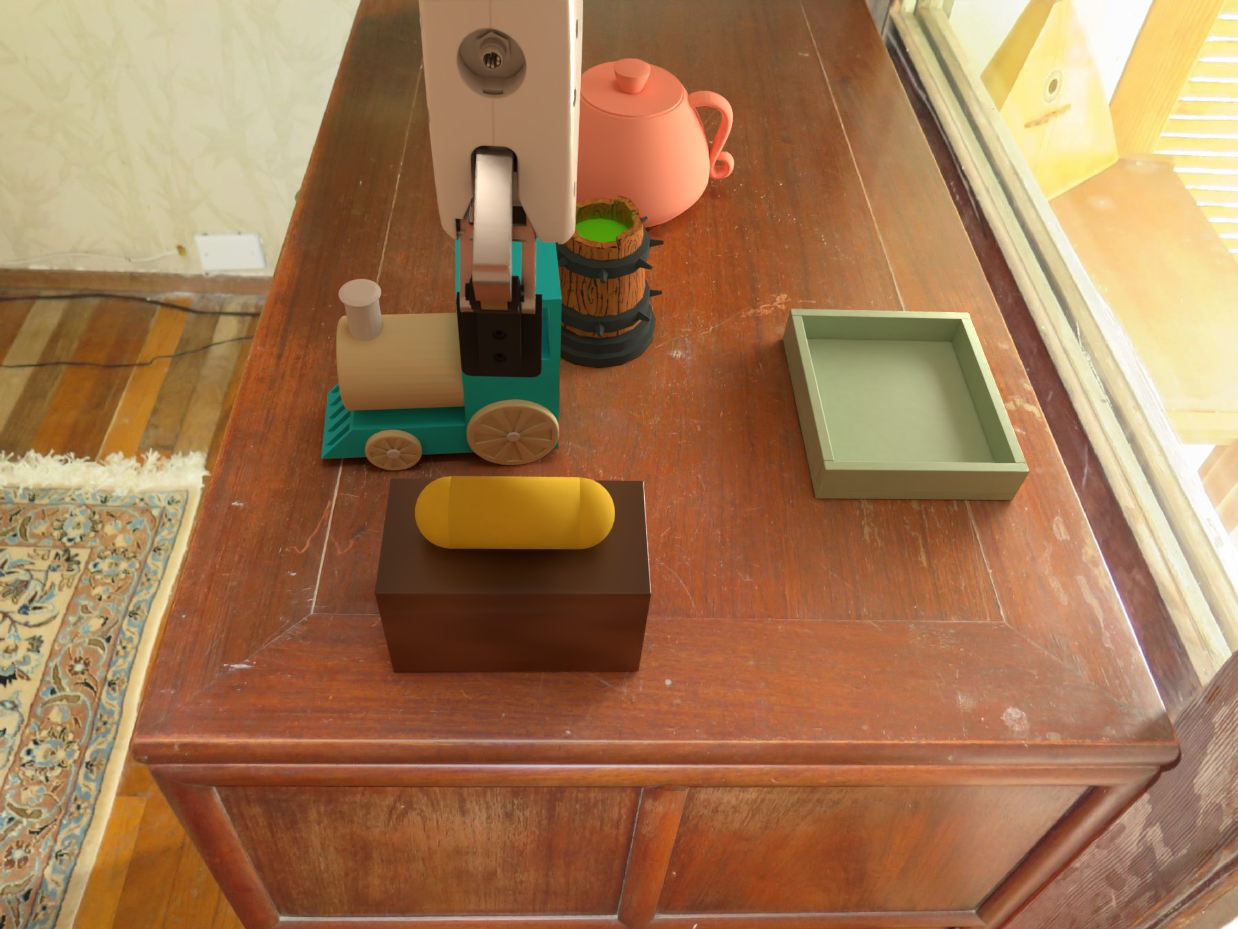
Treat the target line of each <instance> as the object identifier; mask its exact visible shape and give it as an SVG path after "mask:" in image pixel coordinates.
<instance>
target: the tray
mask: <svg viewBox="0 0 1238 929" xmlns="http://www.w3.org/2000/svg"><path fill="white" fill-rule="evenodd" d="M782 342H783V347H784V352H785V356H786V357H785V358H786V361H787V366H788V371H789V377H790V381H791V386H792V392H793V395H794V401H795V406H796V411H797V415H798V420H799V426H800V429H801V435H802V440H803V444H804V449H805V454H806V459H807V463H808V468H809V472H810V473H809V474H810V478H811V483H812V487H813V493H814V498H815V499H834V500H835V499H836V500H837V499H840V500H841V499H842V500H843V499H844V500H845V499H847V500H848V499H849V500H850V499H851V500H856V499H857V500H946V501H947V500H953V501H954V500H956V501H957V500H958V501H959V500H962V501H963V500H965V501H966V500H967V501H970V500H971V501H1014V499H1015V497H1016V495H1017V493H1018V492H1019V490H1020V489H1021V487H1022V486H1023V484H1024V482H1025V480H1026V479H1027V478H1028V476H1029V474H1030V468H1029V467H1028V464H1027V461H1026V458H1025V456H1024V453H1023V451H1022V448H1021V445H1020V443H1019V440H1018V438H1017V436H1016V433H1015V432H1016V431H1015V430H1014V426H1013V425H1012V422H1011V419H1010V417H1009V414H1008V411H1007V409H1006V407H1005V404H1004V402H1003V399H1002V396H1001V394H1000V391H999V389H998V386H997V384H996V381H995V378H994V376H993V372H992V371H991V367H990V365H989V363H988V361H987V357H986V355H985V353H984V349H983V347H982V345H981V342H980V340H979V337H978V335H977V332H976V330H975V326H974V325H973V322H972V319H971V316H970V313H969V312H955V311H919V310H917V311H910V310H909V311H908V310H875V309H874V310H870V309H869V310H867V309H829V308H828V309H826V308H823V309H822V308H789V312H788V316H787V321H786V324H785V328H784V332H783V335H782Z"/></svg>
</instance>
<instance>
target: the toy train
mask: <svg viewBox="0 0 1238 929" xmlns="http://www.w3.org/2000/svg"><path fill="white" fill-rule="evenodd" d="M454 248H455V249H454V251H455V252H454V253H455V254H454V255H455V258H454V260H455V263H454V264H455V267H454V268H455V297H456V296H457V292H460V236H459V239H458V240H455V239H454ZM521 265H522V242H512V276H519V278H520V281H521ZM536 294H542V370H541V374H540V375H539V376H537V377H532V378H528V377H487V376H468V375H466V374H464V373H463V372H462V369H461V357H460V345H459V332H458V319H457V312H436V313H435V312H431V313H430V312H429V313H395V314H394V313H392V314H391V313H390V314H382V311H381V307H380V297H381V295H382V288H381V287H380V285H379V284H378V283H376V282H375V281H374V280H371V279H366V278H357V279H353V280H349V281H347V282H346V283H343V285H342V286H340V289H339V290H338V298H339V300H340V302H341V303H342V304H343V306H344V310H345V314H346V315H343V316H341V317H340V318H339V319H338V322H337V326H336V338H335V354H336V355H335V356H336V360H335V361H336V372H337V381H338V382H337V383H336V384H335V385H334V386H333V387H332V388H331V389H330V390H329V391H328V392H327V396H326V397H327V398H326V405H325V406H326V408H325V415H324V416H325V417H324V424H323V425H324V426H323V435H322V445H321V454H320V459H321V460H327V459H328V460H329V459H348V458H367V460H368V462H370V463H371V464H372V465H374V466H375V467H377V468H379V469H382V470H386V471H402V470H407V469H410V468H411V467H413V466H415V465H416V464H418V462H419V461H420V459H421V458H422V455H442V454H444V455H445V454H466V453H468V454H469V453H474V454H476V455H477V456H478V457H480V458H482V459H483V460H485V461H487V462H490V463H492V464H497V465H503V466H520V465H526V464H529V463H534V462H536V461H538V460H540V459H543V458H544V457H545V456H547V455H548V454H549V453H551V451H553V450H558V449H559V437H560V426H559V425H560V394H561V393H560V391H561V390H560V389H561V387H560V386H561V357H560V352H561V309H562V297H561V288H560V279H559V270H558V261H557V251H556V242H545V243H542V242H541V241H540V239H539V237H537V240H536ZM455 308H456V311H457V307H456V306H455Z"/></svg>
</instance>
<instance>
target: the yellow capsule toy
mask: <svg viewBox="0 0 1238 929" xmlns="http://www.w3.org/2000/svg"><path fill="white" fill-rule="evenodd" d="M435 479H436V480H435V481H433V482H431V483H430V484H428V485H427V486H426V487H425V488H424V489H423V491H422V492H421V493H420V495H419V497H418V499H417V503H416V506H415V519H416V523H417V526H418V528H419V530H420V532H421V533H422V534H423V536H424V537H425V538H426V539H427V540H429V541H430V542H431V543H433V544H435V545H437V546H439V547H443V548H450V549H586V548H590V547H593V546H595V545H596V544H598V543H600V542H601V541H602V540H603V539H605V537H606V536H607V535H608V534H609V532H610V530H611V528H612V526H613V523H614V518H615V508H614V504H613V500H612V498H611V496H610V494H609V493H608V492H607V490H606V489H605V488H604V487H603V486H602V485H600V484H599V483H597V482H595V481H594V479H590V478H587V477H580V476H505V475H504V476H502V475H501V476H499V475H498V476H497V475H495V476H494V475H490V476H488V475H451V476H443V477H438V478H435Z"/></svg>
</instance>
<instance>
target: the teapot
mask: <svg viewBox="0 0 1238 929" xmlns="http://www.w3.org/2000/svg"><path fill="white" fill-rule="evenodd" d="M700 107H709V108H713V109H716V110H717V111H719V112H720V113H721V120H720V124H719V126H718V130H717V132H716V134H715V136H714V138H713V140H712V142H711V144H710V145H709V141H708V138H707V137H708V136H707V134H706V130H705V126H704V124H703V122H702V119H701V116H700V113H699V112H698V110H697V108H700ZM733 122H734V114H733V109H732V106H731V104H730V103H729V101H728V100H727V99H726V98H725V97H724V96H722V95H720V94H719V93H716V92H715V91H711V90H698V91H693V92H691V93H690V94H689V93H688V91H687V90H686V88H685V86H684V85H683V84H682V83H681V80H679V79H678V77H676V76H675V75H673V74H672V73H671V72H670V71H668V70H666V69H665V68H662V67H660V66H657V65H654V64H651V63H648V62H647V61H645V60H642V59H640V58H634V57H631V58H629V57H627V58H622V59H619V60H615V61H614V60H613V61H607V62H604V63H599V64H597V65H595V66H592V67H591V68H588V69H587V70H586V71H584V72H583V73H581V89H580V114H579V137H578V161H577V187H576V203H577V202H580V201H582V200H585V199H593V198H607V199H614V200H615V198H616V196H617V195H619V196H622V197H625V198H628V199H630V200H631V201H632V202H633V203H634V205H635V206H636V207H637V208H638V209H639V215H640V217H641V218H643V217H645V216H647V218H648V219H647V220H646V221H645V222H644V223H643V225H644V226H645V229H647V228H652V227H655V226H659V225H662V224H665V223H667V222H669V221H671V220H673V219H674V218H677V216H680V215H681V214H683V213H684V212H685V211H687V210H688V209H690V208H691V207H692V206H694V204H696V202H698V200H700V198H701V196H702V195H703V194H704V192H705V191H706V188H707V186H708V183H709V179H712V180H717V181H718V180H723V179H725V178H727V177H729V176H730V175H731V174H732V172H733V171H734V167H735V160H734V157H733V156H732V154H731V153H729V152H728V151H723V148H724V146H725V144H726V142H727V140H728V138H729V135H730V133H731V129H732V126H733ZM716 162H723V164H722V165H716Z"/></svg>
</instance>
